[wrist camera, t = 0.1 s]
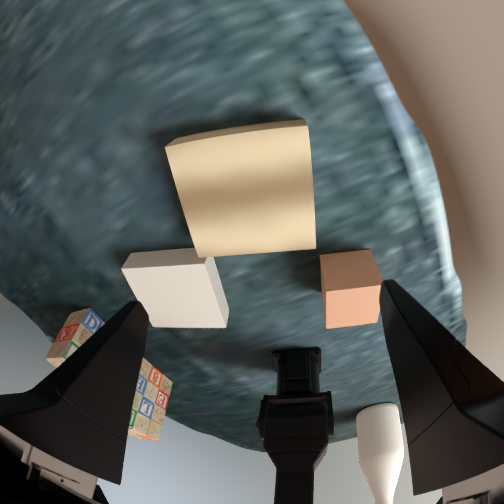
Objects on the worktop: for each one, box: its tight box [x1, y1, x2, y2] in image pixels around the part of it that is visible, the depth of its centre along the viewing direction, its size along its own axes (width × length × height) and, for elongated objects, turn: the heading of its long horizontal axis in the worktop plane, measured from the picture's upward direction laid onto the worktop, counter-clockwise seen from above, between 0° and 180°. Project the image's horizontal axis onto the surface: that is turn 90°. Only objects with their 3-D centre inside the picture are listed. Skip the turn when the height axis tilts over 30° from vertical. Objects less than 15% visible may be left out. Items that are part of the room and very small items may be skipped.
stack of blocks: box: [46, 308, 172, 441], centre depth 37 cm, size 21×6×12 cm, turn 25°
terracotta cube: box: [320, 249, 383, 329], centre depth 25 cm, size 5×5×5 cm
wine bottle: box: [356, 403, 404, 504], centre depth 38 cm, size 10×10×30 cm
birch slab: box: [165, 119, 316, 258], centre depth 22 cm, size 10×10×3 cm
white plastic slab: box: [121, 248, 229, 328], centre depth 29 cm, size 9×9×3 cm
